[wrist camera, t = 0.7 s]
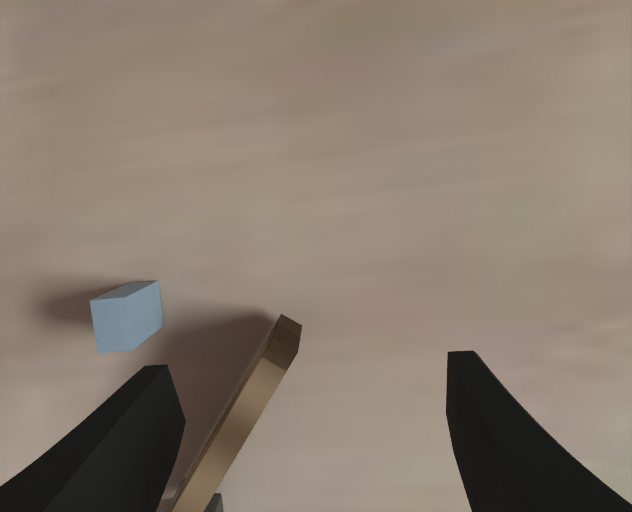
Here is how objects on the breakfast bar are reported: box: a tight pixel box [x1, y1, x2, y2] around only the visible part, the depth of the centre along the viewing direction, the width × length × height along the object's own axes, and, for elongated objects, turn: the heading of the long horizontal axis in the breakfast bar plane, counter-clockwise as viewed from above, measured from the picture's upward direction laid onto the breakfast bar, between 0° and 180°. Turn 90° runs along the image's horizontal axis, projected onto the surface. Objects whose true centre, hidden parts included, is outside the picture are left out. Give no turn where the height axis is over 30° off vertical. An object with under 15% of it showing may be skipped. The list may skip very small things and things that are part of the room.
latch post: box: [89, 281, 164, 353], centre depth 28 cm, size 3×2×5 cm, turn 5°
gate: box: [167, 314, 302, 512], centre depth 27 cm, size 14×2×5 cm, turn 150°
